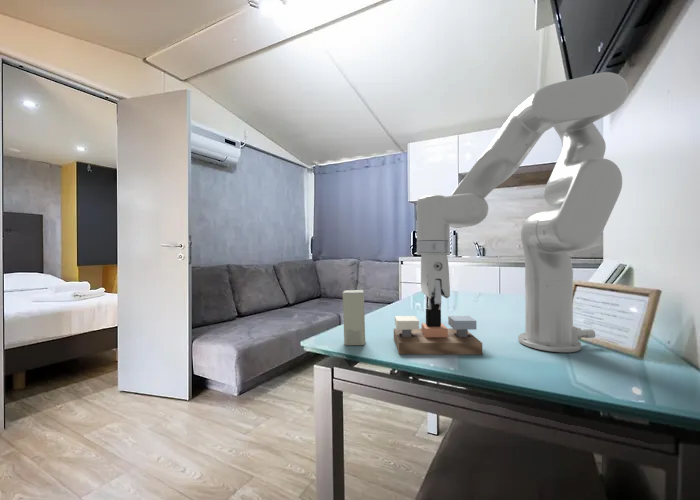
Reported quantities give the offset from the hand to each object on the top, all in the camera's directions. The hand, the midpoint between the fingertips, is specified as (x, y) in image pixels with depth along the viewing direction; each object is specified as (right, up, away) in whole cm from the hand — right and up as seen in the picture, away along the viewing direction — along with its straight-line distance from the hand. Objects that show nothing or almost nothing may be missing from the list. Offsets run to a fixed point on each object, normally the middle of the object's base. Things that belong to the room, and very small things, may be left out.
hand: (433, 325), depth 75 cm
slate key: (+7, -3, 0) cm, 7 cm away
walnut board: (0, -5, 0) cm, 5 cm away
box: (-19, -5, +3) cm, 20 cm away
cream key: (-6, -3, 0) cm, 7 cm away
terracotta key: (0, -5, 0) cm, 5 cm away
